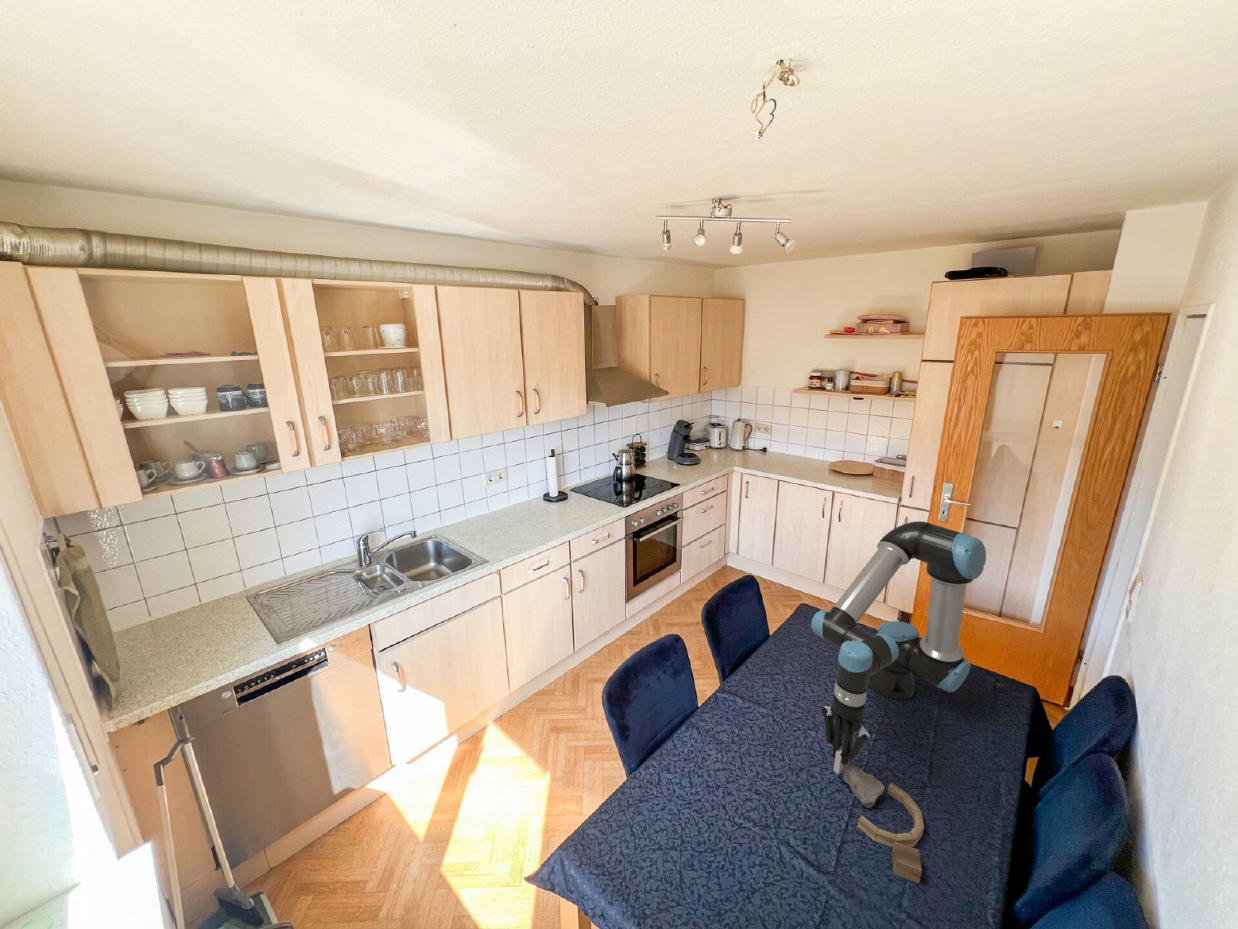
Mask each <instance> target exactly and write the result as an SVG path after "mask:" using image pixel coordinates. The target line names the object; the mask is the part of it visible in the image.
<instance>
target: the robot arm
mask: <svg viewBox="0 0 1238 929" xmlns="http://www.w3.org/2000/svg"><path fill="white" fill-rule="evenodd" d="M876 548H877V550H876V552H874V554H873V556H872V557H870V559H869V560H868V561H867V563H866V564H865V566H864V567H863V568H862V569H861V570H860V572H859V574H857V576H856V577H855V579H853V581H852V583H850V585H849V586H848V588H847V589H846V590H845V592H844V593H843V594H842V595H841V597H840V598H839V599H838V600H837V601H836V603H835V604H834V606H833V607H832V608H831V609H830V610H829V611H828V610H825V609H819V611H817V612H815V614H814V615H813V617H812V619H811V621H810V622H811V624H810V625H811V630H812V632H813V633H814V634H815V635H817V636H819V637H820V638H821V639H822V640H824V641H827V642H828V643H830V644H832V645H833V646H835V647H837V648H839V652H838V657H837V658H838V661H837V667H836V668H837V670H836V676H835V677H836V678H835V683H834V690H833V697H832V705H829V704H826V705H824V707H822V708H821V712H822V716H823V717H824V718H823V719H824V727H825V735H826V736H825V737H826V742H827V744H829V745H831V746H832V754H831V755H832V758H833V759H834V763H833V772H834V773H836V774H837V775H840V773H842V771H843V769H844V767H845V766H846V764H847V763H849V759H850V760H853V759H854V758H855V757H856V756H857V755H858V754H859V752H860V751H861V748H862V747H863V745H864V744H865V741H867V740H868V739H869V738H871V736H873V735H872V732H871V731H870V730H866V728H865V727H864V721H863V718H864V713H865V712H864V711H865V707H866V701H867V693H868V687H869V688H871V690H873V691H874V692H876V693H877V694H879V695H880V696H882V697H886V698H887V699H892V700H896V701H898V700H899V701H903V700H905V701H906V700H909V699H911V698H912V697H913V696H914V695H915V688H916V687H915V686H916V685H915V681H914V675H915V676H917V677H919V678H921V679H923V680H925V681H926V682H928V683H930V684H931V685H933V686H934V687H936V688H939V689H941V690H943V691H945V692H948V693H953V692H955V691H957V690H958V689H959V688H960V687H961V686H962V684H964V682H965V680H966V678H967V676H968V675H969V673H970V670H971V665H972V664H971V662H970V660H968V659H967V658H964V654H965V653H964V652H965V651H964V650H963V647H962V646H961V645H960V636H961V628H962V620H963V613H964V605H965V599H966V592H967V585H969V584H971V583H972V582H973V581H974V580H977V579H978V578H979V577H980V576H981V575H982V573H983V572H984V569H985V568H984V566H985V565H986V563H987V562H986V560H987V551H986V546H985V544H984V543H983V542H982V541H981V539H979V538H977V537H975V536H972V535H970V534H968V533H966V532H959V531H956V530H952V529H950V528H946V527H943V526H941V525H936V524H934V523H930V522H927V521H920V520H919V521H917V520H916V521H911V522H906V523H904V524H902V525H899V526H897V527H895V528H893V529H891V530H890V531H889V532H887V533H886V534H885V535H884V536H883V537H882V538H881V539H880V540H879V542H878V543H877V545H876ZM913 559H916V560H918V561H921V562H923V563H925V564H926V573H927V574H928V576H930V577H931V582H930V593H929V601H928V602H929V603H928V612H927V623H926V631H925V636H923V637H921V636H920V633H919V630H918V629H917V628H916V627H915V626H914V625H912V624H910V623H907V622H903V621H895V620H894V621H893V620H890V621H885V622H883V623H881V624H880V626H879V627H878V631H877V634H874V635H872V634H871V633H868V632H866V631H865V630H863V629H861V628H859V627H858V626H857V624H858V623H859V622H860V620H861V619H862V617H863V616H864V615H865V614H866V613H867V611H868V610H869V608H870V607H871V606H872V604H873V603H874V602H875V600H876V599H877V598H878V597H879V595H880V594H881V593H882V592H883V590H885V587H886V586H887V585H888V584H889V582H890V581H891V579H892V578H893V577H894V576H895V575H896V574H897V571H898V570H899V569H900V568H901V566H906V565H907V564H909V563H910V562H911V560H913ZM913 674H914V675H913ZM857 731H859V732H858V738H857V739H856V741H855V742H854V744H853V741H854V740H853V739H854V733H855V732H857ZM852 745H853V746H852Z"/></svg>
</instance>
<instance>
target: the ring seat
mask: <svg viewBox="0 0 1238 929" xmlns="http://www.w3.org/2000/svg"><path fill="white" fill-rule="evenodd" d="M886 792H887V794H888V795H890V797H892V798H894V800H896V801H898V802H900V803H901V804H902V805H903V807H905V809H906V810H907V811H908V813H909V814H910V815H911V817H912V820H913V825H914V827H913V828H912V829H911V830H910V832H903V833H894V832H893V833H892V832H889V831H886V830H885V829H884V830H883V829H881V828H878V827H877V826H876V825H874V824H873V823H872V822H870V821H869V820H868V819H867V818H866V817H865V816H864V815H861V816H860V817H859V818H858V820H857V825H856V827H857V828H858V829H860V830H861V831H862V832H863V833H864V834H866V835H867V836H868V837H869V838H871V839H872V840H873V841H875V842H876V843H879V844H881V845H882V844H883V845H885V846H888V847H890V848H893V845H894V841H895V842H898V843H901V844H904V845H906V846H909V847H912V848H914V847H915V846H916V845H917V843H918V842H919V841H920V839H921V838H922V837H923V834H924V829H925V824H924V818H923V813H922V810H921V809H920V808H919V806H918V805H917V803H916V802H915V801H914V800H913V798H912V797H911V796H910V794H908V793H907V792H905V791H904V790H903V789H901V788H900V787H898V786H897V785H895V784H894V783H892V782H891V783H889V785H888V789H887V791H886Z"/></svg>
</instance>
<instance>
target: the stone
mask: <svg viewBox="0 0 1238 929" xmlns="http://www.w3.org/2000/svg"><path fill="white" fill-rule="evenodd" d="M842 771H843V774H842V780H843V782H844V783H847V784H848V785H849V787H850V789H851V791H852V793H853V796H854V797H855V798H856V799H857V800H859V802H860V803H861V806H864V807H865V808H867V809H871V808H872V807H873V806H874V805H875V804H876V802H877V801H876V800H877V799H878V798H879V797H880V796H881V795H882V794H884V791H885V788H886V787H885V785H883V783H882V782H881V781H879V780H878V779H877V778H875V776H874V774H870V773H867V772H865V771H864V770H863V769H862V768H860V767H859V766H857V765H854V764H853V763H851V762H848V763H847V764H846V765H845V766H844V769H843V770H842Z"/></svg>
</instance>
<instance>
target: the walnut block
mask: <svg viewBox="0 0 1238 929" xmlns="http://www.w3.org/2000/svg"><path fill="white" fill-rule="evenodd" d="M891 857H892V858H891V859H892V868H893V875H895V876H897V877H900V878H903V879H906V880H909V881H911V882H914V883H917V884H920V882H921V876H922V872H923V869H922V863H921V855H920V849H917V848H914V847H909V846H906V845H904V844H901V843H898V842H895V841H894V845H893V847H892V850H891Z"/></svg>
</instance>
